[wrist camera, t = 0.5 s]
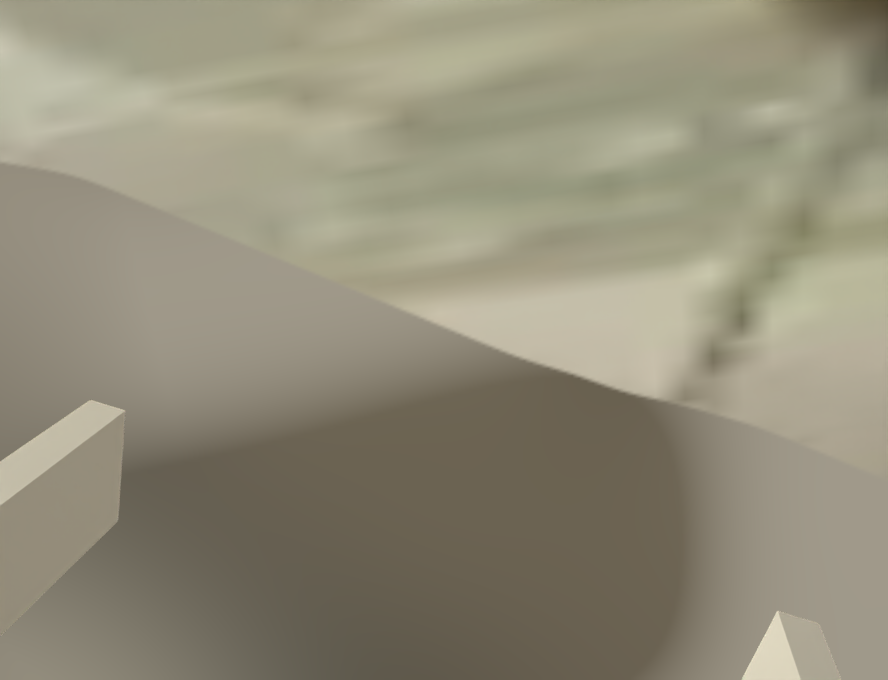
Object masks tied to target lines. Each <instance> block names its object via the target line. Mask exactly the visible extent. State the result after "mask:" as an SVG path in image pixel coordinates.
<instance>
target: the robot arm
mask: <svg viewBox="0 0 888 680" xmlns="http://www.w3.org/2000/svg"><path fill="white" fill-rule="evenodd" d="M124 424H125V410H122V409H119V408H115V407H112V406H109V405H106V404H102V403H99V402H96V401H92V400H89V401H88V402H86V403H85V404H84V405H82V406H81V407H79V408H78V409H76V410H75V411H73V412H72V413H70V414H69V415H68V416H66V417H65V418H63V419H62V420H60V421H59V422H57V423H56V424H54V425H53V426H51V427H50V428H49V429H47V430H46V431H44V432H43V433H41V434H40V435H38V436H37V437H35V438H34V439H32V440H31V441H30V442H28V443H27V444H25V445H24V446H22V447H21V448H19V449H18V450H16V451H15V452H13V453H12V454H11V455H9V456H8V457H6V458H5V459H3V460H2V461H0V636H1V635H2V634H3V633H4V632H5V631H6V630H7V629H8V628H9V627H10V626H11V625H12V624H13V623H14V622H15V621H16V620H17V619H18V618H19V617H20V616H21V615H22V614H24V613H25V612H26V611H27V610H28V609H29V608H30V607H31V606H32V605H33V604H34V603H35V602H36V601H37V600H38V599H39V598H40V597H41V596H42V595H43V594H44V593H45V592H46V591H47V590H48V589H49V588H50V587H51V586H52V585H53V584H54V583H55V582H56V581H57V580H58V579H59V578H60V577H61V576H62V575H63V574H64V573H65V572H66V571H67V570H68V569H69V568H70V567H71V566H72V565H73V564H75V563H76V561H77V560H79V559H80V558H81V557H82V556H83V555H84V554H85V553H86V552H87V551H88V550H89V549H90V548H91V547H92V546H93V545H94V544H95V543H96V542H97V541H98V540H99V539H100V538H101V537H102V536H103V535H104V534H105V533H106V532H107V531H108V530H109V529H110V528H111V527H112V526H113V525H114V524H115V523H116V522H117V521H118V513H119V499H120V484H121V468H122V454H123V439H124ZM742 680H841V677H840V675H839V673H838V670H837V667H836V665H835V662H834V660H833V657H832V655H831V652H830V650H829V647H828V645H827V642H826V640H825V637H824V635H823V632H822V630H821V627H820V625H819V623H816V622H813V621H810V620H806V619H803V618H799V617H796V616H793V615H790V614H787V613H783V612H780V611H777V613H776V615H775V617H774V619H773V620H772V622H771V625H770V626H769V628H768V630H767V632H766V634H765V636H764V638H763V640H762V642H761V643H760V645H759V647H758V649H757V651H756V653H755V655H754V657H753V659H752V661H751V663H750V665H749V666H748V668H747V670H746V672H745V674H744V676H743V678H742Z"/></svg>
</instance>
